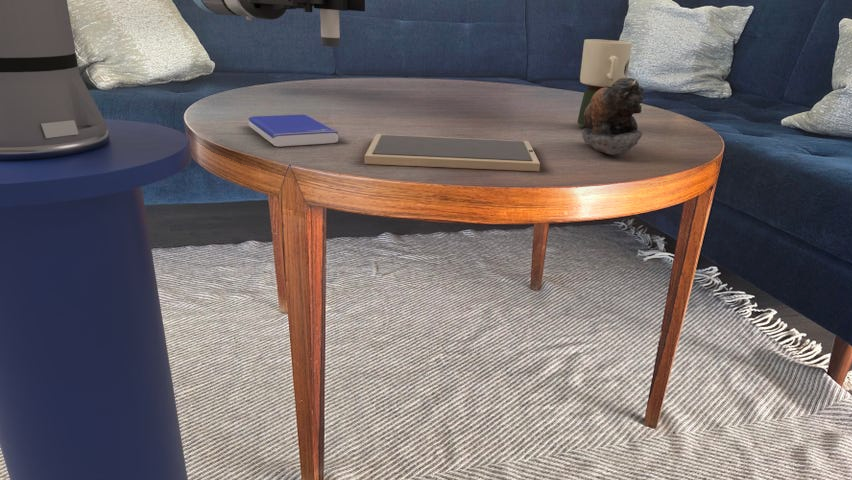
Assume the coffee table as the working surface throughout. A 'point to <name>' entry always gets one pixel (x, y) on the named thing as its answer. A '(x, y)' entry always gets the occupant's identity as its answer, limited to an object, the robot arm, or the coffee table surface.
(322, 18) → the stylus
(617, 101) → the bison figurine
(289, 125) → the blue book
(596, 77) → the character mug
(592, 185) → the coffee table surface
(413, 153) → the tablet
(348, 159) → the coffee table surface
